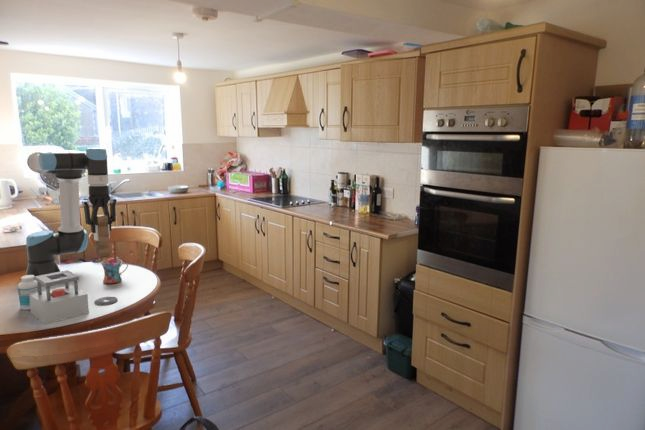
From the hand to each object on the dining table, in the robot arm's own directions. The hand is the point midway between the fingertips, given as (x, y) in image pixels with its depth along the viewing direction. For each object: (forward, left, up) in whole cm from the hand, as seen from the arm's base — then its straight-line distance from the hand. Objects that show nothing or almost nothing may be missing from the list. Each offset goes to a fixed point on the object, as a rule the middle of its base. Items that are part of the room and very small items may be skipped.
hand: (102, 239), depth 184 cm
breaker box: (-1, -18, -28) cm, 34 cm away
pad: (0, 0, -28) cm, 28 cm away
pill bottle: (-16, -24, -28) cm, 41 cm away
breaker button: (-1, -18, -27) cm, 32 cm away
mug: (-24, +15, -28) cm, 40 cm away
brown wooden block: (0, 0, -8) cm, 8 cm away
